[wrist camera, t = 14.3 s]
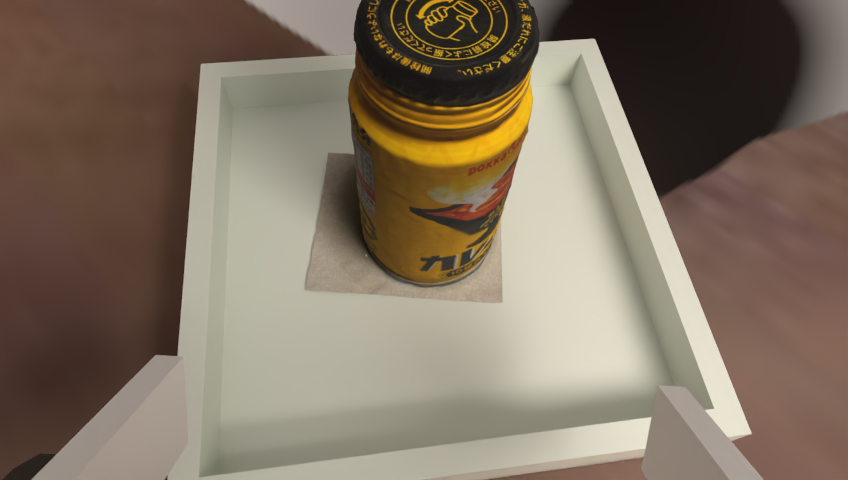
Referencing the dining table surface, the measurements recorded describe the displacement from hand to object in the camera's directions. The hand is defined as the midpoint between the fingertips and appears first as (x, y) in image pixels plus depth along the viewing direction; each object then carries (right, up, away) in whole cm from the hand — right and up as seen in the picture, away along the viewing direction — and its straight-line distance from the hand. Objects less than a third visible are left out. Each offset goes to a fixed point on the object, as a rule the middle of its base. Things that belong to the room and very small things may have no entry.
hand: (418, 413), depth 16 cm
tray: (0, +4, +11) cm, 11 cm away
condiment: (-1, +5, +11) cm, 12 cm away
